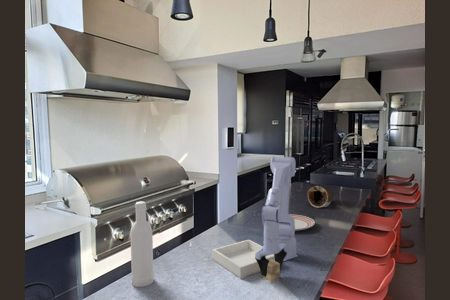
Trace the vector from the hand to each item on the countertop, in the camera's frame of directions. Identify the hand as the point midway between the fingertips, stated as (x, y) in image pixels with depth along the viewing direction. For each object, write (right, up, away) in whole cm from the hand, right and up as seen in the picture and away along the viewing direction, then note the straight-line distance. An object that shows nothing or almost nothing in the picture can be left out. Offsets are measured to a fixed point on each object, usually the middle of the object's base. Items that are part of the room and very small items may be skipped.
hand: (271, 272), depth 114 cm
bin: (-9, -1, +13) cm, 16 cm away
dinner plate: (+20, +2, +60) cm, 63 cm away
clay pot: (+54, +6, +105) cm, 119 cm away
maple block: (0, -2, 0) cm, 2 cm away
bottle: (-48, -3, -2) cm, 48 cm away
